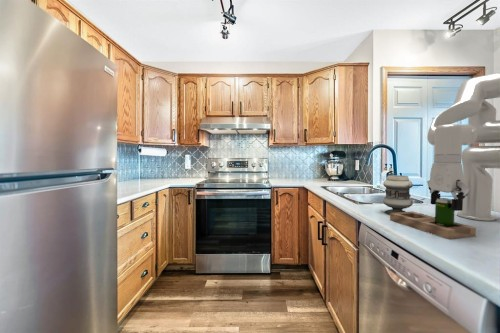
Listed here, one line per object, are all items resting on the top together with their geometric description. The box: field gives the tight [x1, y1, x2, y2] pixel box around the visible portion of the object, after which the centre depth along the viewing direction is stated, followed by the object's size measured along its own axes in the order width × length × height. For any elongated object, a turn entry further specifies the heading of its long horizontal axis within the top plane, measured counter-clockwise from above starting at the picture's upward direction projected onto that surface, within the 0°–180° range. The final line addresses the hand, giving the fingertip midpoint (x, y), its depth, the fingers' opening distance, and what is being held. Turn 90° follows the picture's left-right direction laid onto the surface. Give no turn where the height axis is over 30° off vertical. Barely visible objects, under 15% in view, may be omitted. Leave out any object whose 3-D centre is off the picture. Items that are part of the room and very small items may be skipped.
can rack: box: [389, 211, 477, 240], centre depth 93 cm, size 24×12×3 cm, turn 14°
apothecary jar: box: [382, 174, 414, 215], centre depth 114 cm, size 12×12×18 cm
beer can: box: [434, 197, 456, 228], centre depth 87 cm, size 5×5×12 cm
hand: (445, 207), depth 87 cm, fingers open, 9 cm apart
